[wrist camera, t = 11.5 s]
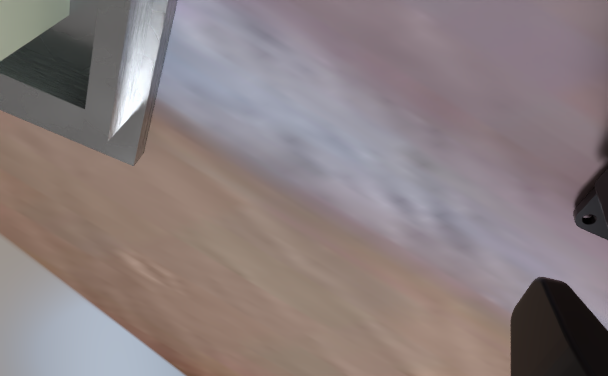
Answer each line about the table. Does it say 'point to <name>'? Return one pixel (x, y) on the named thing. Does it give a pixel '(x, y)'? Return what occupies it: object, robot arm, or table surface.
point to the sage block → (27, 21)
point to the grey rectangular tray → (93, 74)
